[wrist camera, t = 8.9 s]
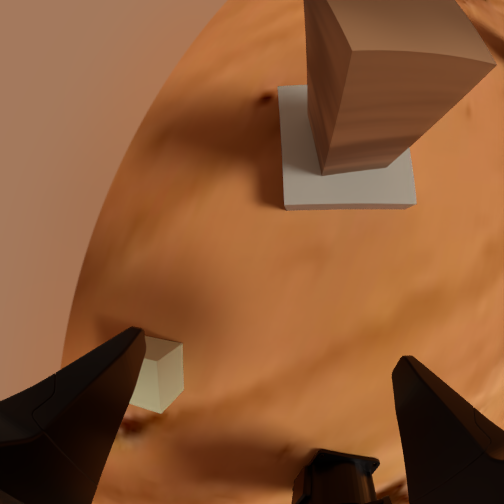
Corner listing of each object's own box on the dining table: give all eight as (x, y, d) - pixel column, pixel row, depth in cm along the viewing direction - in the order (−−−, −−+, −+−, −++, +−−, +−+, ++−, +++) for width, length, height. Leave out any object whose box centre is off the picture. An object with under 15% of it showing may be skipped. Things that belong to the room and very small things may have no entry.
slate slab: (402, 210, 19) (416, 204, 16) (286, 211, 21) (284, 205, 18) (386, 106, 19) (395, 88, 16) (281, 105, 21) (277, 86, 18)
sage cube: (182, 342, 22) (157, 361, 17) (184, 389, 22) (161, 413, 17) (137, 333, 23) (107, 347, 18) (140, 378, 23) (113, 397, 18)
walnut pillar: (386, 167, 16) (497, 64, 4) (321, 176, 17) (352, 50, 4) (369, 108, 16) (426, -32, 4) (307, 114, 17) (299, -43, 4)
